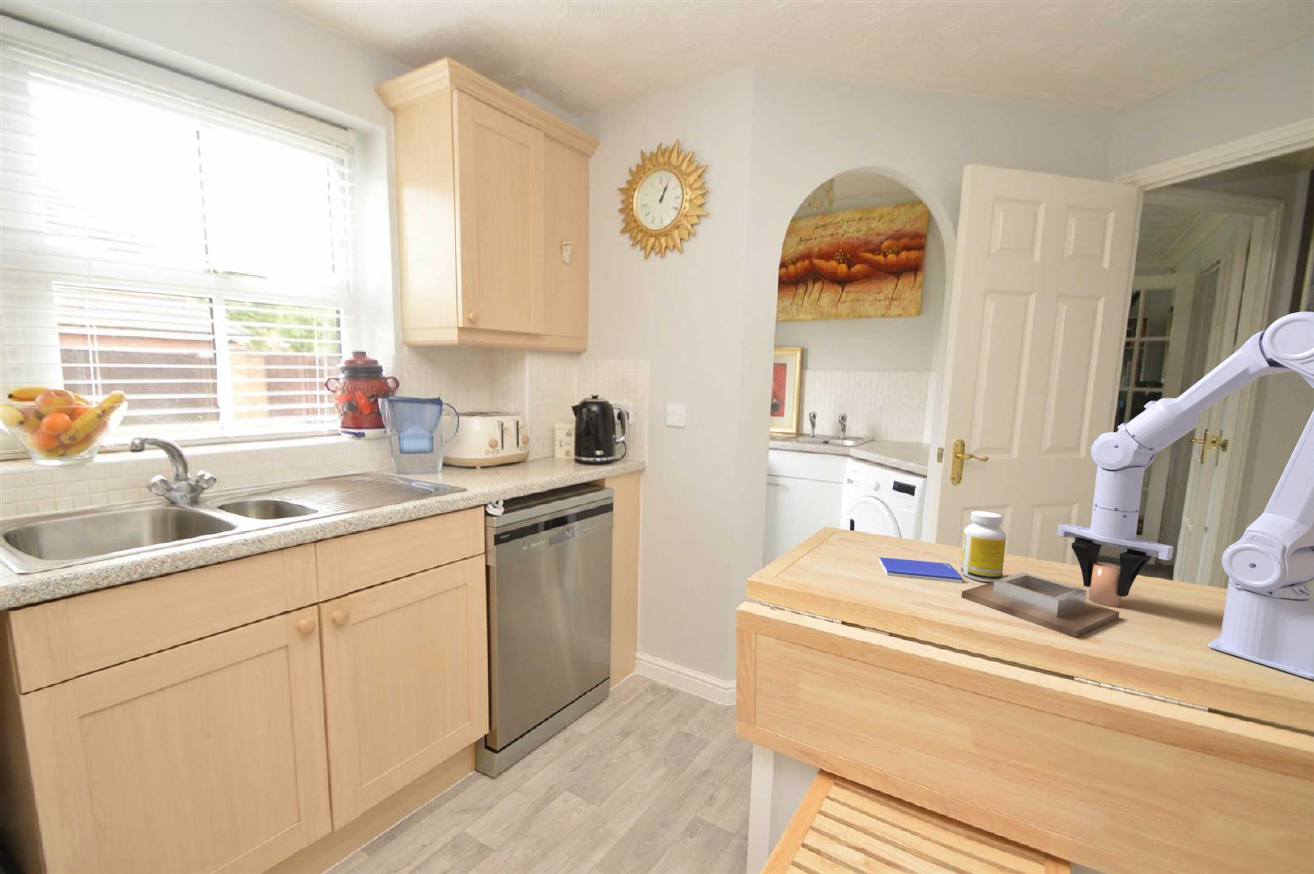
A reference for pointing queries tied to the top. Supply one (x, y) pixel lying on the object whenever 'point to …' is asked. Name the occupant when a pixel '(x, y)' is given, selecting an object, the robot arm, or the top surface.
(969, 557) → the pill bottle
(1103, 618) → the mount board
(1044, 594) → the steel collar
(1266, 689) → the top surface
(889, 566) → the hard drive
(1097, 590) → the terracotta peg
